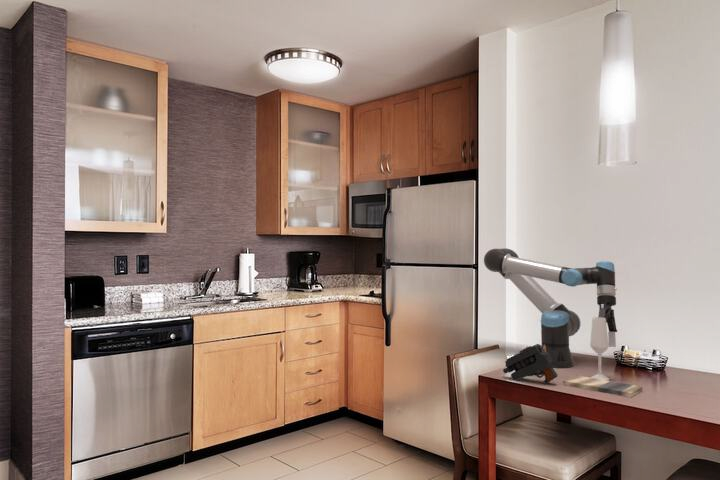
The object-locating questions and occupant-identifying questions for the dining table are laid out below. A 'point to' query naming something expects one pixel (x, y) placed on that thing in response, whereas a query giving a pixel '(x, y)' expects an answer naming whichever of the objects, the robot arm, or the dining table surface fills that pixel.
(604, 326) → the champagne flute
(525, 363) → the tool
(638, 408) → the dining table surface
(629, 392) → the subfloor board
